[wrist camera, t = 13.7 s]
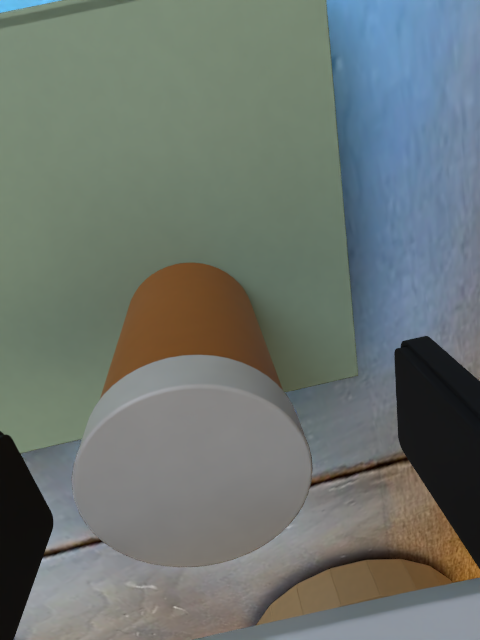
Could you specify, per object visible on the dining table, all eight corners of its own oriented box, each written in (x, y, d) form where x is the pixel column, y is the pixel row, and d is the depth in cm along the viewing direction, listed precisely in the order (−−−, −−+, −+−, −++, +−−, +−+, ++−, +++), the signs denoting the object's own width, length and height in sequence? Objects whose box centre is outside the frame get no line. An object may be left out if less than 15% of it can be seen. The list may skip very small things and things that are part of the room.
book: (299, -25, 14) (321, -54, 12) (338, 347, 20) (358, 375, 18) (-320, 102, 13) (-421, 98, 11) (-89, 444, 19) (-125, 486, 17)
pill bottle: (242, 245, 15) (296, 359, 8) (265, 362, 17) (325, 539, 10) (106, 275, 15) (30, 420, 7) (146, 389, 17) (115, 589, 10)
